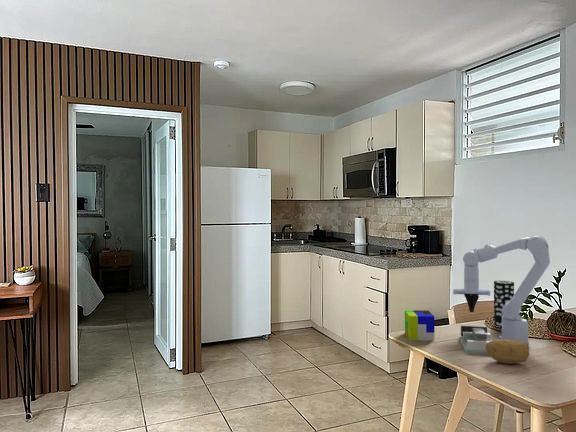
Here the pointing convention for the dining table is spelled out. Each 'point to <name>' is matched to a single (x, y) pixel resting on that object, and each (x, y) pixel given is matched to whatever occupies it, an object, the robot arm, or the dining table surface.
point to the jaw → (467, 332)
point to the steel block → (479, 334)
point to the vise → (474, 346)
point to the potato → (508, 351)
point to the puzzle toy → (419, 325)
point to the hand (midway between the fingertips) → (471, 311)
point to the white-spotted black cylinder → (501, 298)
